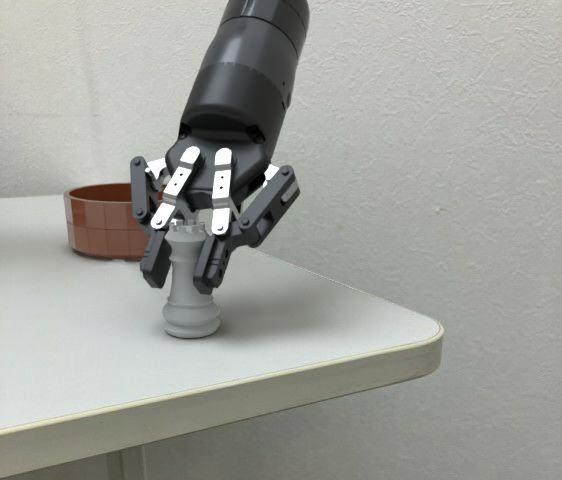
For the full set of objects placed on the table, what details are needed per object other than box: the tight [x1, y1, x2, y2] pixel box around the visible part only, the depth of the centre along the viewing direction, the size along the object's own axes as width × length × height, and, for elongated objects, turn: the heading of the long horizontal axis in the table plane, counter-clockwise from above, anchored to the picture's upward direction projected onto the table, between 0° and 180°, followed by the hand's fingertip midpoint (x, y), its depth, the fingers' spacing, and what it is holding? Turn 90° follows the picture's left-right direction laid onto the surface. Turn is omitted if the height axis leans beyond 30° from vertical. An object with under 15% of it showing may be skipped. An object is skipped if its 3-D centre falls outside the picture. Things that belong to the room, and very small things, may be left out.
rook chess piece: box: [161, 220, 222, 339], centre depth 48 cm, size 4×4×8 cm
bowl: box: [63, 181, 200, 261], centre depth 73 cm, size 14×14×6 cm
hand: (176, 285), depth 47 cm, fingers closed on rook chess piece, 3 cm apart
